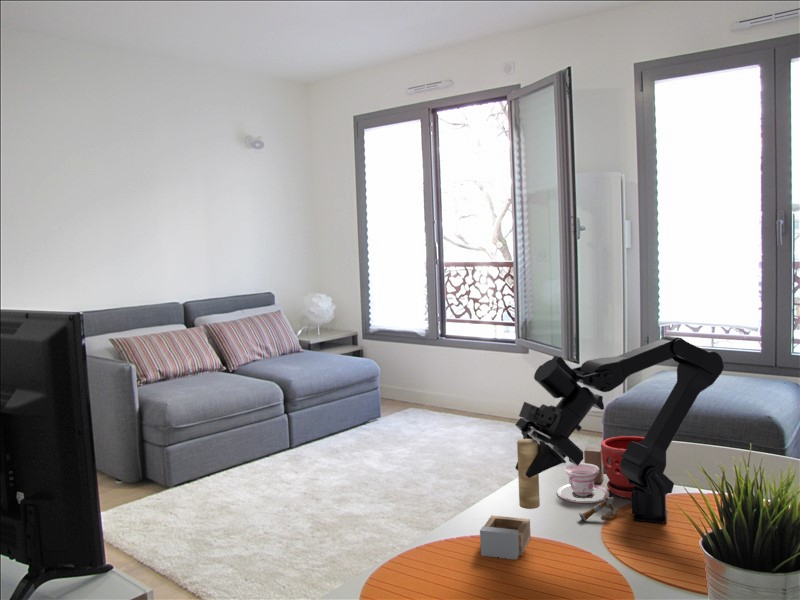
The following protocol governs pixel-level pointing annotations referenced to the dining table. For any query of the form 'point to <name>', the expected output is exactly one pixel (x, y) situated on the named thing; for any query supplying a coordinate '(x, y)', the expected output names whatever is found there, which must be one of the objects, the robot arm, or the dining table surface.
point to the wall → (499, 542)
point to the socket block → (514, 524)
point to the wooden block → (595, 461)
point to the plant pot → (617, 464)
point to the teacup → (582, 481)
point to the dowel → (526, 485)
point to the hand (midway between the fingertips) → (522, 473)
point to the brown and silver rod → (598, 507)
